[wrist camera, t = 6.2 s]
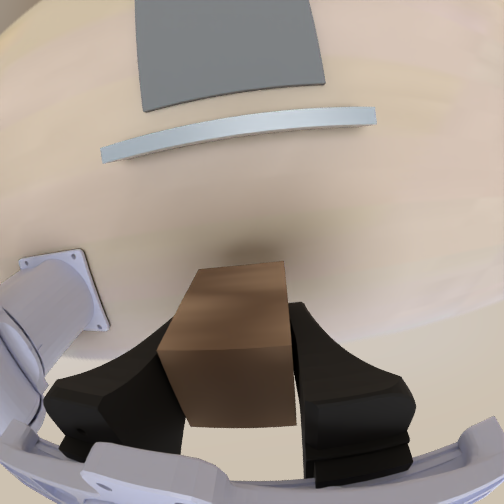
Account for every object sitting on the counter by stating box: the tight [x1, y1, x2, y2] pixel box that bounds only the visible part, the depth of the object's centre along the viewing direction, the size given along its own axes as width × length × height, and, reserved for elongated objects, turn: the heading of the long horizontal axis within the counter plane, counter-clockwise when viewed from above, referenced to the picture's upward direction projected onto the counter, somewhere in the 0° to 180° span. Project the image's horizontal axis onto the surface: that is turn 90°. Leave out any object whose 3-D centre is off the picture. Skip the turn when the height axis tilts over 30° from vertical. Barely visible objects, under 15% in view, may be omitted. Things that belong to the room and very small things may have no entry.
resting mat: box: [135, 0, 326, 112], centre depth 14 cm, size 12×12×1 cm
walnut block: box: [157, 261, 297, 428], centre depth 11 cm, size 4×4×6 cm
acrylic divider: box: [100, 107, 377, 164], centre depth 16 cm, size 16×1×4 cm, turn 98°
